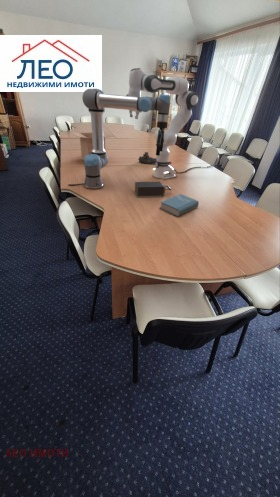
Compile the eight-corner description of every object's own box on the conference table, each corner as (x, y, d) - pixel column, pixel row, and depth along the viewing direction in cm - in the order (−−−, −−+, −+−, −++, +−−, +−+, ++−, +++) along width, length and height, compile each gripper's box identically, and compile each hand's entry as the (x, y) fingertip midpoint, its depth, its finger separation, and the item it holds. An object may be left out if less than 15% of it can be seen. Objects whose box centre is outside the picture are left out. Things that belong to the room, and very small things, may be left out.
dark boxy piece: (158, 191, 181) (159, 181, 176) (162, 196, 172) (164, 186, 167) (134, 191, 176) (135, 181, 172) (137, 197, 168) (138, 187, 163)
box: (116, 165, 229) (116, 136, 213) (83, 168, 214) (80, 137, 198) (102, 154, 259) (101, 128, 243) (71, 156, 244) (68, 129, 228)
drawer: (167, 190, 181) (168, 182, 177) (171, 194, 173) (172, 187, 170) (138, 190, 176) (138, 183, 172) (141, 195, 168) (141, 188, 165)
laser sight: (157, 165, 238) (158, 155, 232) (137, 163, 241) (138, 153, 235) (159, 163, 245) (160, 153, 239) (139, 160, 248) (139, 151, 242)
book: (179, 200, 168) (180, 193, 165) (197, 207, 159) (199, 201, 156) (160, 208, 154) (160, 201, 152) (178, 217, 146) (179, 210, 143)
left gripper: (165, 123, 145) (161, 157, 157) (169, 119, 164) (166, 150, 177) (154, 122, 146) (151, 156, 158) (159, 118, 165) (156, 149, 178)
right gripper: (144, 97, 156) (143, 120, 164) (132, 95, 170) (132, 116, 179) (136, 97, 153) (135, 120, 162) (125, 95, 168) (124, 116, 176)
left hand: (159, 153), depth 168 cm, fingers open, 13 cm apart
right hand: (133, 118), depth 170 cm, fingers open, 8 cm apart
